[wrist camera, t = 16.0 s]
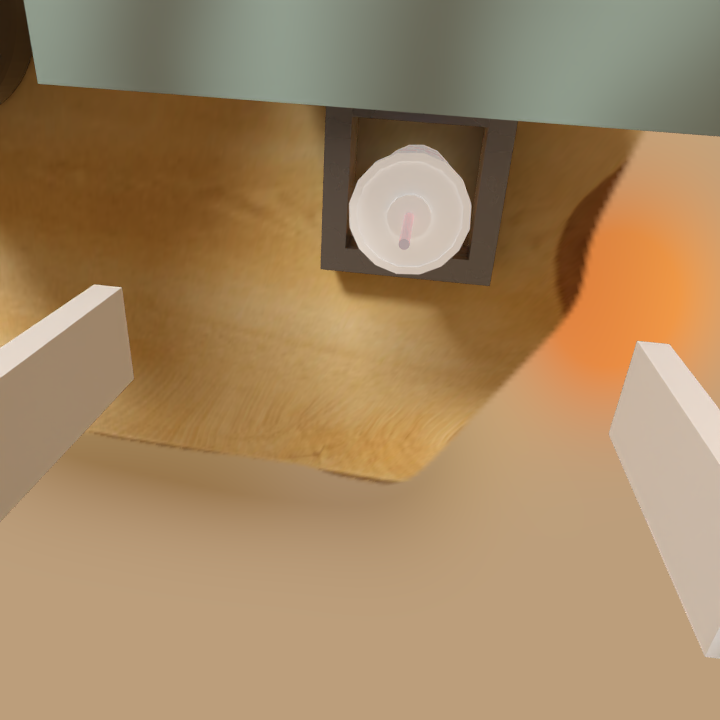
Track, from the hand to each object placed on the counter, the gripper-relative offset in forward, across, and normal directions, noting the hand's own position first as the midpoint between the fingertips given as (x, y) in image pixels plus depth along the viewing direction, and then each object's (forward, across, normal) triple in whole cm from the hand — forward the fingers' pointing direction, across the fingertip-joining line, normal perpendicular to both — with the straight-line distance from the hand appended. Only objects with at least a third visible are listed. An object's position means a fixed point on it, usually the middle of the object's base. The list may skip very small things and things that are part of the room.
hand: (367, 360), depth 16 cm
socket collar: (+25, 0, 0) cm, 25 cm away
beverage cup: (+25, 0, 0) cm, 25 cm away
